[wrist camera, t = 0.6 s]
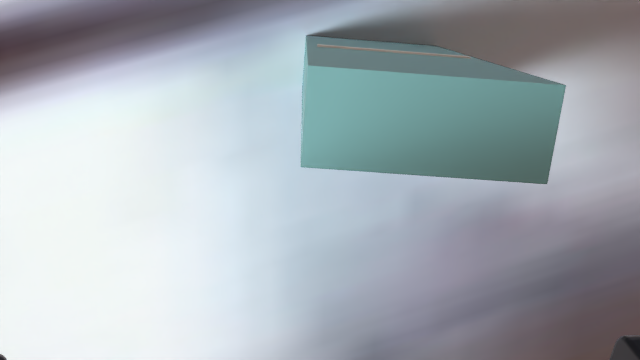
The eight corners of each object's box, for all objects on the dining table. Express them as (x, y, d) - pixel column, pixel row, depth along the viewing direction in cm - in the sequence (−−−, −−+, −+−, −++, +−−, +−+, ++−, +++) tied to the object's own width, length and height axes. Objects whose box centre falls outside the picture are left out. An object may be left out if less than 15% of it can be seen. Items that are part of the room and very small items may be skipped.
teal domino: (428, 98, 24) (546, 186, 12) (302, 89, 24) (300, 169, 12) (435, 44, 23) (566, 82, 12) (306, 34, 23) (308, 62, 11)
